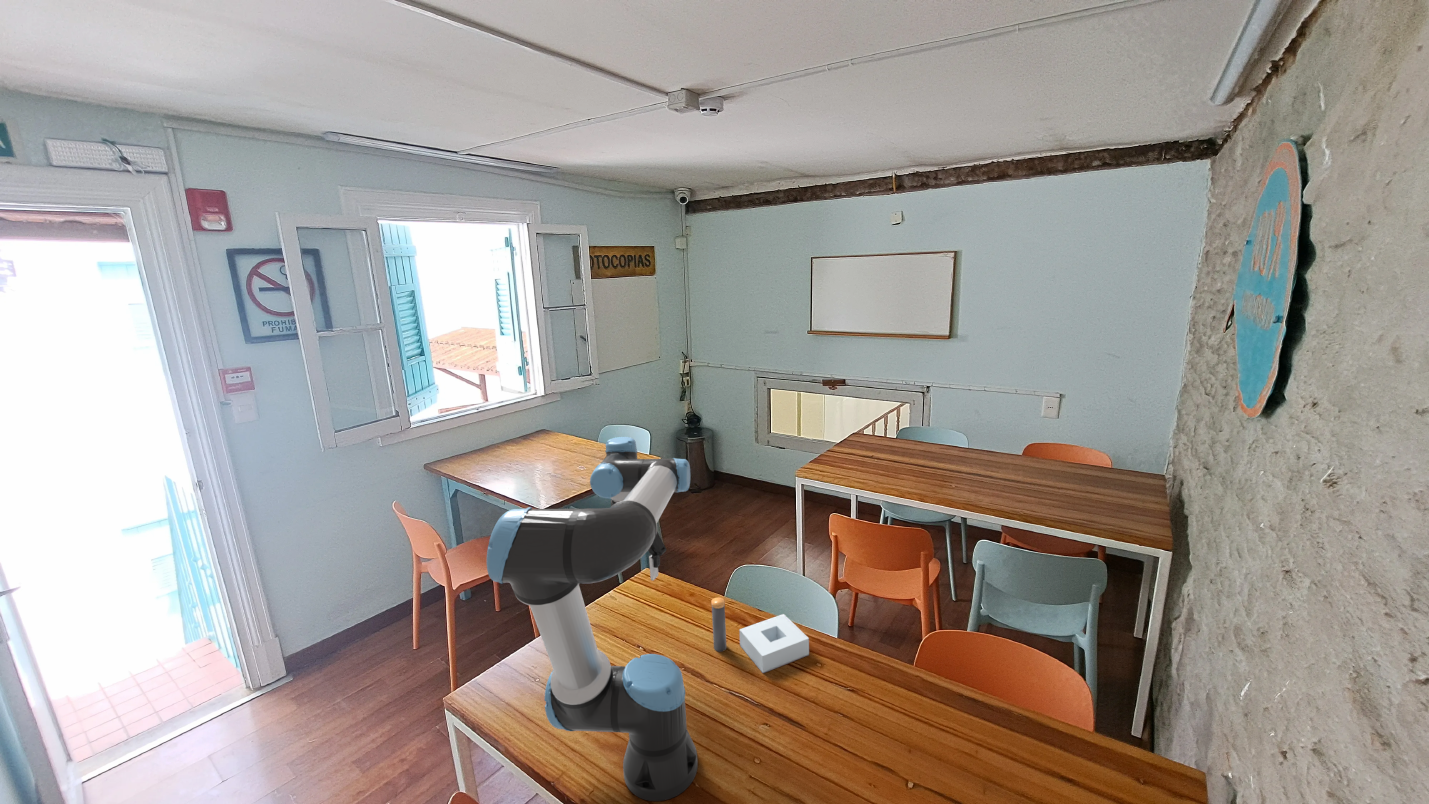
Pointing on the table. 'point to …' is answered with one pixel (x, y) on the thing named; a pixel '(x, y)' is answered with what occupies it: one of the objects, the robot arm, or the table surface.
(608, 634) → the table surface
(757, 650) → the socket block
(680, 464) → the robot arm
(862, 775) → the table surface
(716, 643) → the marker
